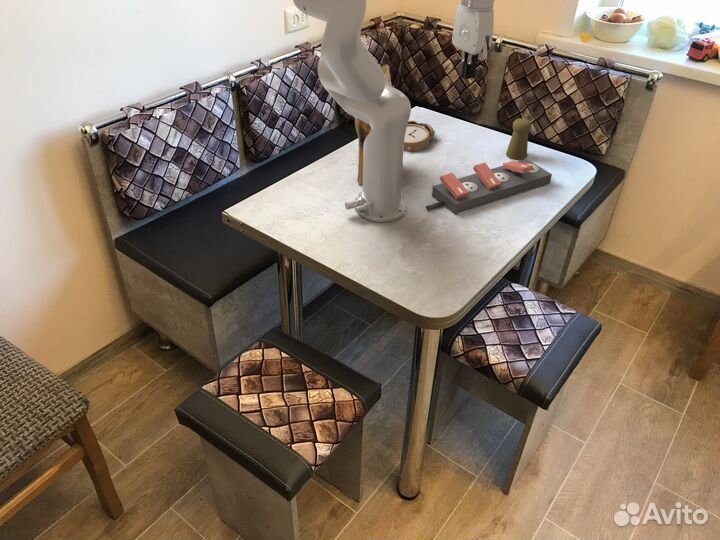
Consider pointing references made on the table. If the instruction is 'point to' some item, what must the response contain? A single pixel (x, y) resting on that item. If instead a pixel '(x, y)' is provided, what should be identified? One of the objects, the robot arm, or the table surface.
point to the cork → (519, 140)
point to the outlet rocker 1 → (454, 185)
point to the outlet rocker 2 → (486, 176)
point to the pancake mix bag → (367, 128)
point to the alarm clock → (417, 136)
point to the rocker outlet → (517, 167)
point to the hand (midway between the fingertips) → (467, 77)
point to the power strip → (483, 196)
